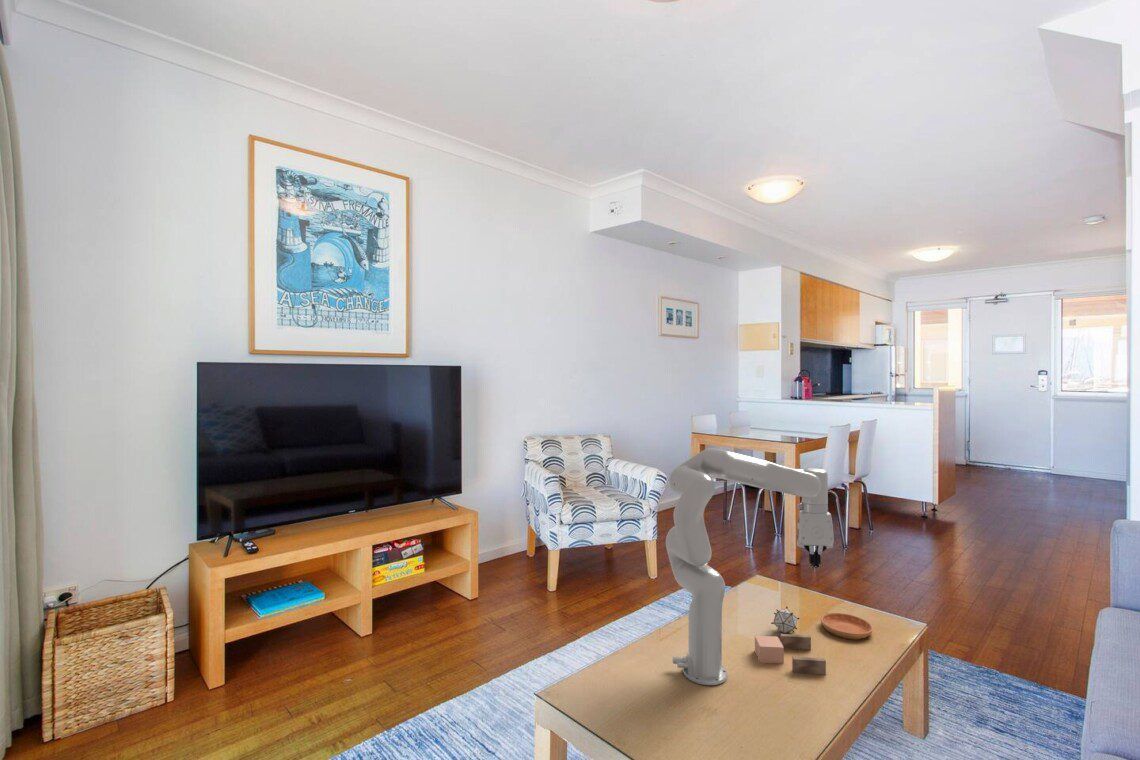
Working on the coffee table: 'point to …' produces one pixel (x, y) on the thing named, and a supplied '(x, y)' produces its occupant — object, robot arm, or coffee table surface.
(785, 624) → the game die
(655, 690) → the coffee table surface
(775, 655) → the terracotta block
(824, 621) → the saucer
